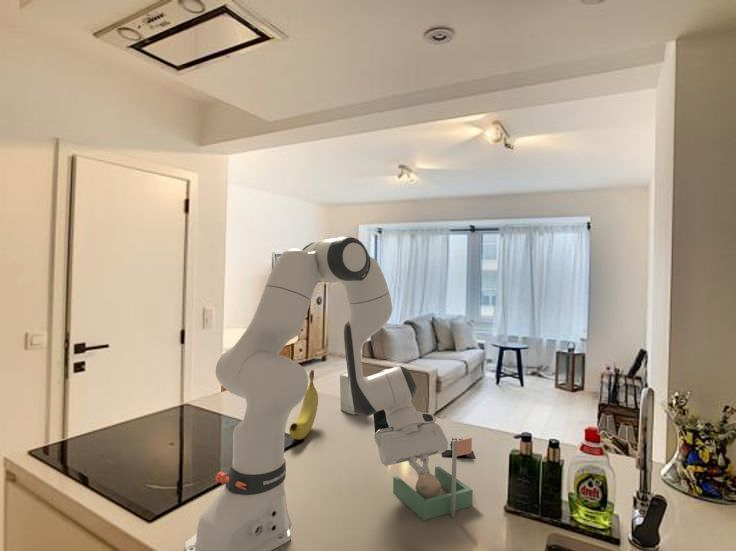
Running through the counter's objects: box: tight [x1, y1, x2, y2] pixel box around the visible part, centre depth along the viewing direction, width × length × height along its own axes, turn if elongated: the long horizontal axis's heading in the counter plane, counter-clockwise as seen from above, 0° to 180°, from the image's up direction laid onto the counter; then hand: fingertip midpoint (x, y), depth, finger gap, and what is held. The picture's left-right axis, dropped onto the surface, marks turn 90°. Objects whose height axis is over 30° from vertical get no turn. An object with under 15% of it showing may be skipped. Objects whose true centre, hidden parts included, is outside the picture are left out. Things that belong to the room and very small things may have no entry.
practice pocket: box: [392, 437, 474, 521], centre depth 107 cm, size 16×14×18 cm
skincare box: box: [339, 372, 358, 416], centre depth 173 cm, size 8×6×15 cm
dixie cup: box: [372, 409, 389, 434], centre depth 149 cm, size 8×8×11 cm
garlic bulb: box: [415, 472, 442, 500], centre depth 108 cm, size 7×6×8 cm
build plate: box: [440, 438, 476, 460], centre depth 135 cm, size 13×8×5 cm, turn 86°
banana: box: [288, 369, 319, 440], centre depth 148 cm, size 23×6×20 cm, turn 171°
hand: (424, 474), depth 112 cm, fingers closed
